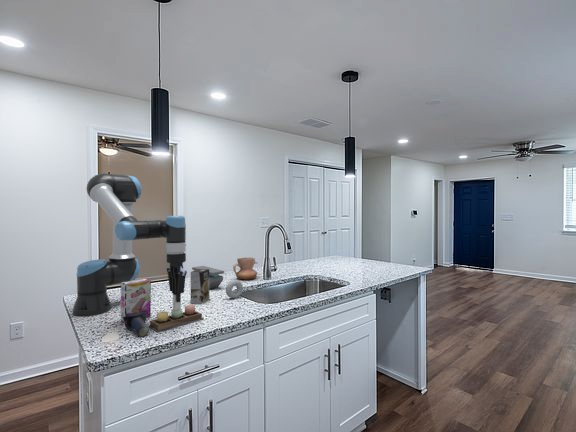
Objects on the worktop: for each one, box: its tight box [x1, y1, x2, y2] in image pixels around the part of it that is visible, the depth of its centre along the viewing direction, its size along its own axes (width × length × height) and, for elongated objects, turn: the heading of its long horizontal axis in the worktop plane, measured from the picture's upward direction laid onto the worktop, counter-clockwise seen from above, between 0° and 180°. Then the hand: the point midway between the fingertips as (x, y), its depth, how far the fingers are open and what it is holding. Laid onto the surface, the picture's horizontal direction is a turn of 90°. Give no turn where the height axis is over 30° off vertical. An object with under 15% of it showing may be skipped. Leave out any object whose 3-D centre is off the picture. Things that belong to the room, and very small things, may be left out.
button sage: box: [170, 308, 183, 318], centre depth 130 cm, size 4×4×3 cm
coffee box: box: [190, 269, 210, 305], centre depth 161 cm, size 9×6×16 cm
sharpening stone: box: [191, 265, 225, 290], centre depth 193 cm, size 25×8×11 cm, turn 44°
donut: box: [225, 279, 244, 299], centre depth 167 cm, size 10×4×10 cm, turn 130°
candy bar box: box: [120, 278, 152, 324], centre depth 135 cm, size 11×5×16 cm, turn 141°
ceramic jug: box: [232, 256, 259, 281], centre depth 215 cm, size 18×14×14 cm
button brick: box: [184, 304, 196, 314], centre depth 134 cm, size 4×4×3 cm
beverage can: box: [123, 310, 150, 337], centre depth 121 cm, size 9×8×12 cm
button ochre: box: [156, 311, 169, 321], centre depth 125 cm, size 4×4×3 cm
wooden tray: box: [148, 310, 204, 333], centre depth 130 cm, size 9×20×2 cm, turn 137°
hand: (176, 309), depth 130 cm, fingers closed
